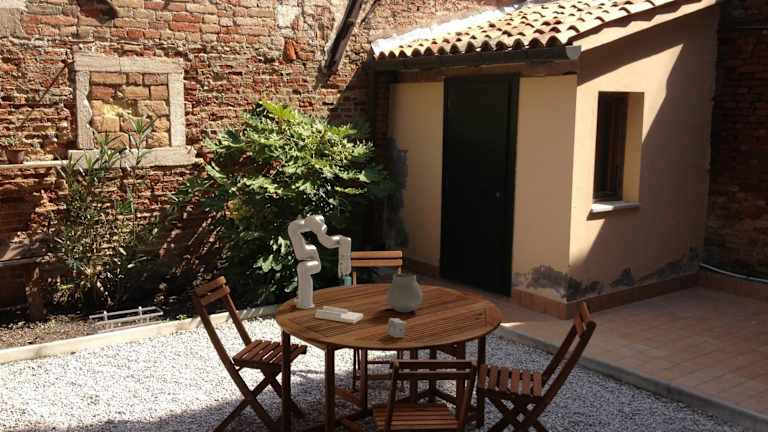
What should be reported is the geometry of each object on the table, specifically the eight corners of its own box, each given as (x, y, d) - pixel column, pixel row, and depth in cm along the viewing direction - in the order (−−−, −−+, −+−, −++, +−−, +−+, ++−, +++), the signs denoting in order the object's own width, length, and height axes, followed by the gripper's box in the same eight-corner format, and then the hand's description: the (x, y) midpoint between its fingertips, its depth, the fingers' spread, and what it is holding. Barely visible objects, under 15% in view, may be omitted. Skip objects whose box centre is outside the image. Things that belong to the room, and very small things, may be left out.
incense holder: (406, 337, 424) (407, 321, 423) (394, 339, 420) (395, 322, 419) (398, 333, 433) (398, 316, 431) (386, 334, 429) (386, 318, 427)
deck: (315, 317, 461) (315, 310, 460) (325, 311, 473) (325, 305, 473) (353, 323, 450) (353, 316, 449) (363, 317, 462) (363, 310, 462)
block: (340, 285, 457) (340, 277, 456) (344, 283, 462) (344, 276, 461) (347, 286, 455) (347, 278, 454) (351, 284, 460) (351, 277, 459)
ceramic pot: (427, 308, 486) (428, 273, 482) (413, 318, 464) (414, 281, 460) (394, 304, 496) (395, 269, 492) (380, 312, 474) (380, 276, 470)
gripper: (343, 259, 447) (343, 287, 450) (355, 254, 462) (354, 281, 465) (333, 258, 450) (332, 286, 453) (345, 253, 465) (344, 280, 468)
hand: (343, 283), depth 459 cm, fingers closed on block, 5 cm apart
